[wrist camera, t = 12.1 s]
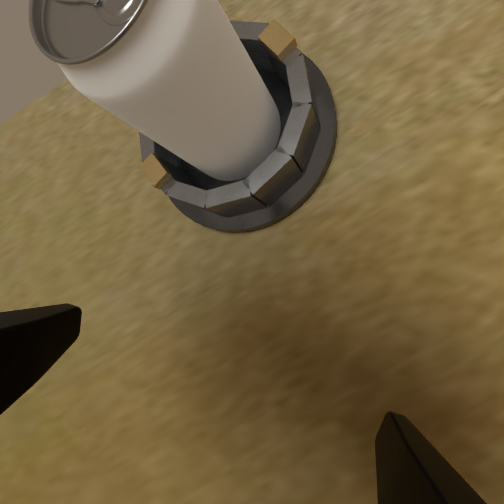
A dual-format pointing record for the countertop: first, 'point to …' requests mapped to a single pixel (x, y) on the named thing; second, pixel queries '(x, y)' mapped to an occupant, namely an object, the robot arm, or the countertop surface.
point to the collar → (278, 163)
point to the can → (166, 76)
